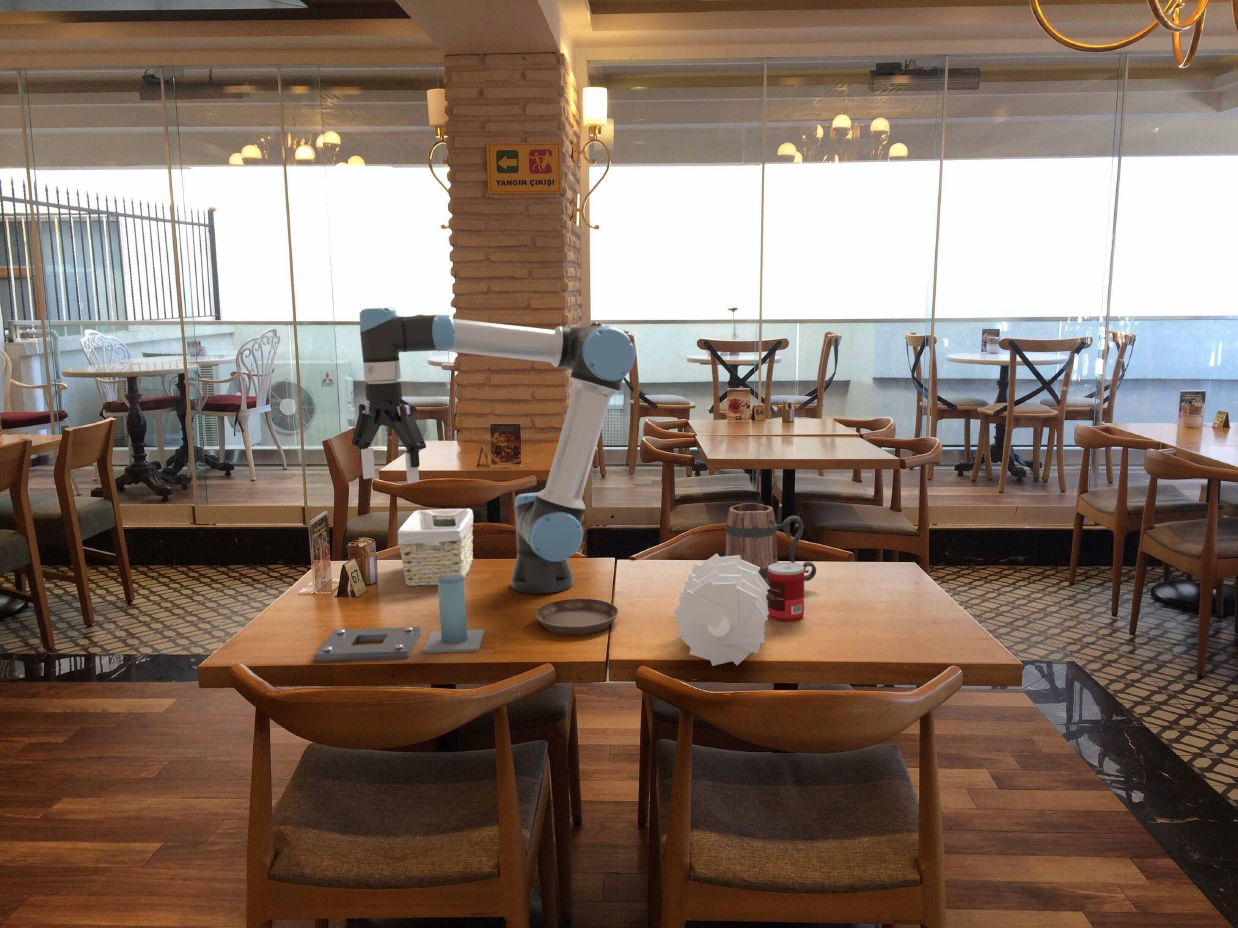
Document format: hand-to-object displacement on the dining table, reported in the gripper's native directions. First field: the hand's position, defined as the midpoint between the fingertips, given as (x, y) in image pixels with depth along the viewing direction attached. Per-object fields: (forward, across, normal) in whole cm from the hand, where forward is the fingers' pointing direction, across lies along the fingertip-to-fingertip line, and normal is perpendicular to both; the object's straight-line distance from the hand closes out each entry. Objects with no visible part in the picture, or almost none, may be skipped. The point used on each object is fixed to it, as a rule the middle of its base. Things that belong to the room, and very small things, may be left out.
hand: (391, 480), depth 203 cm
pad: (+31, +21, -5) cm, 38 cm away
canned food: (+32, +72, +43) cm, 90 cm away
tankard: (+32, +61, +58) cm, 90 cm away
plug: (+31, +20, -5) cm, 37 cm away
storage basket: (+32, -18, +30) cm, 48 cm away
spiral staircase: (+32, +70, +19) cm, 79 cm away
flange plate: (+31, +7, -16) cm, 36 cm away
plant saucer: (+32, +36, +17) cm, 51 cm away
